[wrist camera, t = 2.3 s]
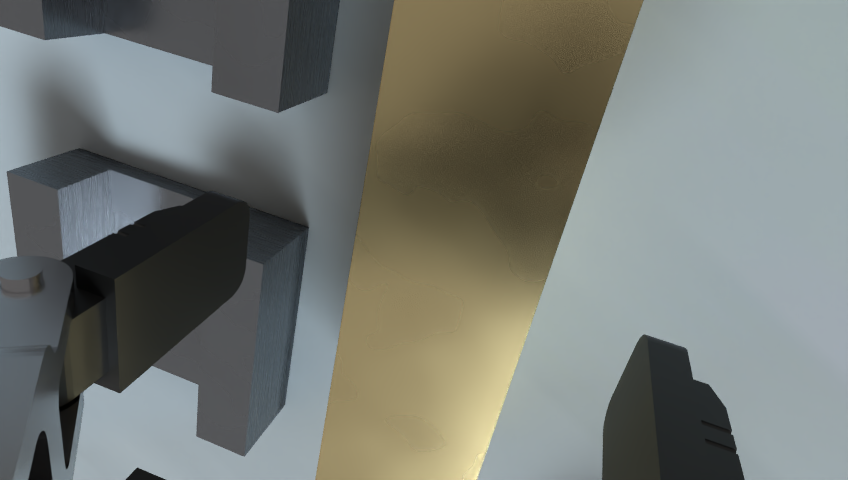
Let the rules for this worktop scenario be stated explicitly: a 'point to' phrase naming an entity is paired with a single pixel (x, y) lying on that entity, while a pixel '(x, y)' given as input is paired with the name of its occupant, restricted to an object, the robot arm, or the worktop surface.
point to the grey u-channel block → (145, 192)
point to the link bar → (461, 222)
